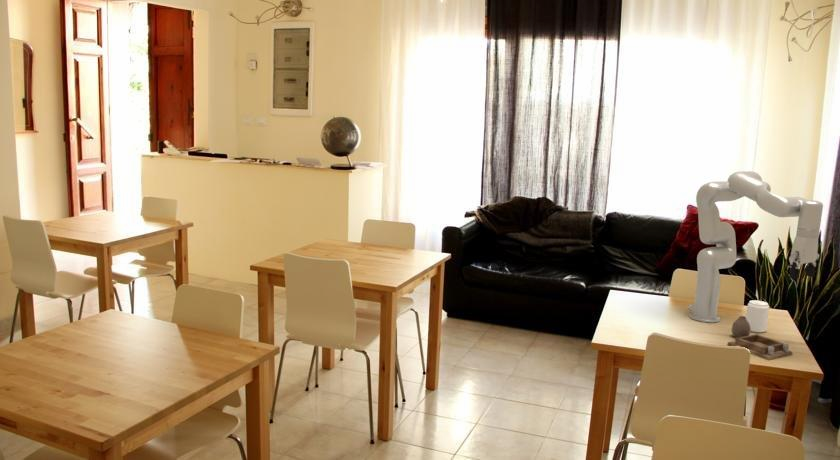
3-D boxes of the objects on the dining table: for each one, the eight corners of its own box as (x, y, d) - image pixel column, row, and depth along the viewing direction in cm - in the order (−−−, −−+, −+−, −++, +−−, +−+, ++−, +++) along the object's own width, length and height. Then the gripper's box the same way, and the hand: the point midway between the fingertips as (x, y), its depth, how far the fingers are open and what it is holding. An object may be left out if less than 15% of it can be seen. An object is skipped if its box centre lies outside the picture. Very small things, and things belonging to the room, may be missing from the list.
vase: (751, 341, 290) (753, 320, 288) (732, 339, 291) (735, 318, 290) (747, 335, 297) (749, 315, 295) (729, 334, 298) (731, 313, 296)
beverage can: (757, 334, 299) (760, 306, 297) (740, 328, 306) (743, 300, 304) (770, 332, 303) (773, 304, 301) (753, 326, 310) (756, 299, 308)
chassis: (727, 344, 284) (728, 334, 283) (750, 340, 291) (751, 330, 290) (768, 360, 269) (770, 349, 268) (792, 354, 276) (793, 344, 275)
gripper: (811, 230, 281) (805, 273, 284) (784, 232, 273) (778, 277, 276) (830, 233, 275) (824, 277, 278) (803, 236, 266) (797, 281, 269)
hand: (801, 277), depth 277 cm, fingers open, 9 cm apart
